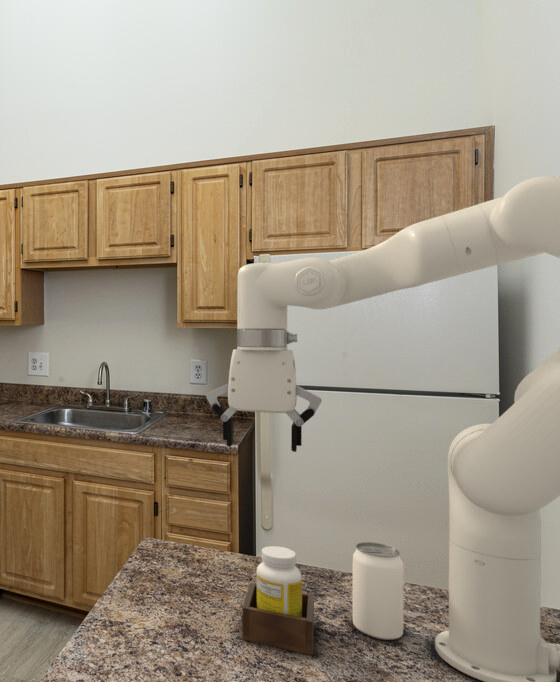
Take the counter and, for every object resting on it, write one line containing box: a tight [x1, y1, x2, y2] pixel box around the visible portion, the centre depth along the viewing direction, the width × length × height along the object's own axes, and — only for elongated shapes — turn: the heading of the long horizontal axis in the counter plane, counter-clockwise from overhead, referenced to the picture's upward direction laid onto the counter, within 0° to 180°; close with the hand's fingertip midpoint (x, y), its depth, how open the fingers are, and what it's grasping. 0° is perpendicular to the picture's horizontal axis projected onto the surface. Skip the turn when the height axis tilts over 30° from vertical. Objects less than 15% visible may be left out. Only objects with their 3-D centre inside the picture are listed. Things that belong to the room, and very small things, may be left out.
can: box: [352, 541, 404, 641], centre depth 83 cm, size 6×6×12 cm
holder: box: [242, 582, 315, 656], centre depth 82 cm, size 9×9×5 cm
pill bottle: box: [256, 545, 303, 617], centre depth 82 cm, size 6×6×11 cm
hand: (261, 447), depth 90 cm, fingers open, 9 cm apart
